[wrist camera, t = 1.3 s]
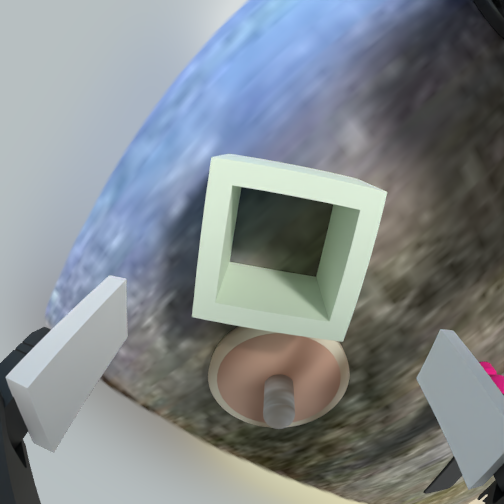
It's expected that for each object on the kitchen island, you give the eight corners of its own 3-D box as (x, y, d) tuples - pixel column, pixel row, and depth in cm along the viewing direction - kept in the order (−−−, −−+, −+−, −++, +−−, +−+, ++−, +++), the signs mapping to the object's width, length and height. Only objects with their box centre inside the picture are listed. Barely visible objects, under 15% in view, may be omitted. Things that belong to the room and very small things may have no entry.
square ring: (356, 178, 26) (387, 192, 19) (327, 293, 30) (342, 341, 22) (228, 153, 26) (211, 157, 19) (211, 273, 30) (192, 317, 22)
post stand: (365, 327, 31) (386, 373, 24) (324, 423, 36) (330, 470, 29) (218, 304, 31) (203, 349, 24) (205, 408, 36) (193, 454, 29)
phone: (422, 494, 43) (459, 452, 38) (421, 491, 44) (458, 449, 39) (450, 488, 43) (488, 445, 38) (449, 485, 43) (486, 442, 38)
